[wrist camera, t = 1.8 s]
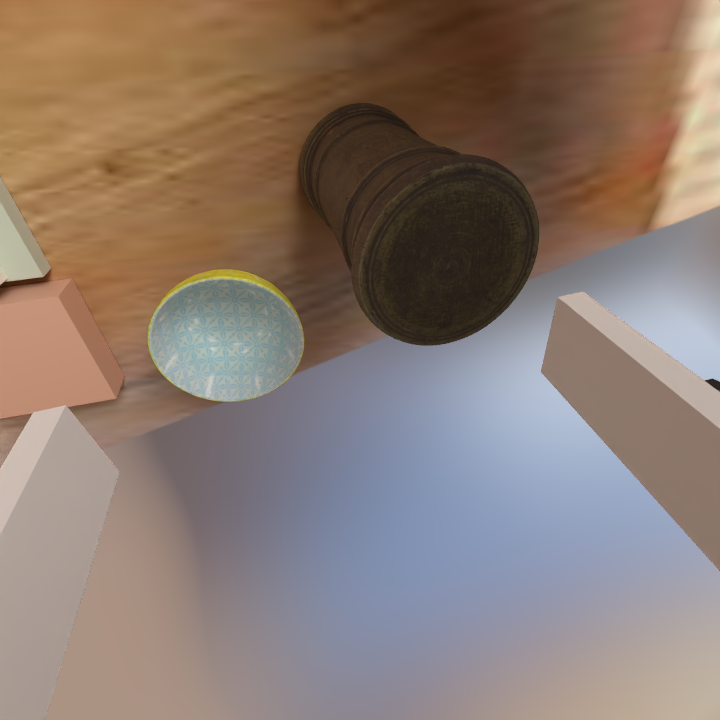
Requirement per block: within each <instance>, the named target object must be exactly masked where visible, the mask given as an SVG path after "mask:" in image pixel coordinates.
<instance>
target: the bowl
mask: <svg viewBox="0 0 720 720" xmlns="http://www.w3.org/2000/svg"><path fill="white" fill-rule="evenodd" d="M147 341H148V348H149V352H150V356H151V358H152V360H153V362H154V364H155V366H156V367H157V369H158V370H159V371H160V373H161V374H162V375H163V376H164V377H165V378H166V379H167V380H168V381H169V382H170V383H172V384H173V385H174V386H176V387H177V388H179V389H181V390H183V391H185V392H187V393H189V394H191V395H194V396H196V397H200V398H203V399H208V400H213V401H220V402H236V401H245V400H249V399H253V398H257V397H260V396H263V395H265V394H267V393H269V392H271V391H273V390H275V389H276V388H278V387H280V386H281V385H282V384H283V383H285V382H286V381H287V380H288V379H289V378H290V377H291V376H292V374H293V373H294V372H295V370H296V369H297V367H298V365H299V363H300V361H301V359H302V355H303V351H304V344H305V338H304V331H303V327H302V323H301V321H300V319H299V316H298V314H297V312H296V310H295V308H294V307H293V305H292V304H291V302H290V301H289V299H288V298H287V297H286V296H285V295H284V294H283V293H282V292H281V291H280V290H279V289H278V288H277V287H275V286H274V285H273V284H272V283H270V282H268V281H267V280H265V279H263V278H261V277H259V276H257V275H254V274H251V273H248V272H244V271H240V270H231V269H219V270H211V271H206V272H203V273H200V274H196V275H194V276H191V277H189V278H188V279H186V280H184V281H183V282H181V283H179V284H178V285H176V286H175V287H174V288H173V289H171V290H170V291H169V292H168V293H167V294H166V295H165V296H164V298H163V299H162V300H161V301H160V303H159V304H158V306H157V308H156V309H155V311H154V313H153V315H152V317H151V320H150V322H149V326H148V334H147Z"/></svg>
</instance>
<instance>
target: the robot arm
mask: <svg viewBox="0 0 720 720" xmlns="http://www.w3.org/2000/svg"><path fill="white" fill-rule="evenodd" d="M541 372H542V373H543V375H544V376H545V377H546V378H547V379H548V380H549V381H550V382H551V383H552V385H553V386H554V387H555V388H556V389H557V390H558V391H559V392H560V393H561V395H562V396H563V397H564V398H565V399H566V400H567V401H568V402H569V404H570V405H571V406H572V407H573V408H574V409H575V410H576V411H577V412H578V413H579V415H580V416H581V417H582V418H583V419H584V420H585V421H586V422H587V424H589V426H590V427H591V428H592V429H593V430H594V431H595V432H596V434H597V435H598V436H599V437H600V438H601V439H602V440H603V441H604V443H605V444H606V445H607V446H608V447H609V448H610V449H611V450H612V451H613V453H614V454H615V455H616V456H617V457H618V458H619V459H620V460H621V461H622V463H623V464H624V465H625V466H626V467H627V468H628V469H629V470H630V471H631V473H632V474H633V475H634V476H635V477H636V478H637V479H638V480H639V481H640V483H641V484H642V485H643V486H644V487H645V488H646V489H647V490H648V491H649V493H650V494H651V495H652V496H653V497H654V498H655V499H656V500H657V501H658V503H659V504H660V505H661V506H662V507H663V508H664V509H665V510H666V511H667V513H668V514H669V515H670V516H671V517H672V518H673V519H674V520H675V522H676V523H677V524H678V525H679V526H680V527H681V528H682V529H683V530H684V532H685V533H686V534H687V535H688V536H689V537H690V538H691V539H692V540H693V542H694V543H695V544H696V545H697V546H698V547H699V548H700V549H701V551H702V552H703V553H704V554H705V555H706V556H707V557H708V558H709V559H710V561H711V562H712V563H713V564H714V565H715V566H716V567H717V568H718V569H719V571H720V382H719V381H716V380H714V379H709V380H705V381H704V380H703V379H701V378H700V377H699V376H697V375H696V374H695V373H693V372H692V371H690V370H689V369H688V368H686V367H685V366H684V365H682V364H681V363H680V362H678V361H677V360H675V359H674V358H673V357H671V356H670V355H669V354H667V353H666V352H665V351H663V350H662V349H661V348H659V347H658V346H656V345H655V344H654V343H652V342H651V341H649V340H648V339H647V338H646V337H644V336H643V335H641V334H640V333H639V332H637V331H636V330H635V329H633V328H632V327H631V326H629V325H628V324H626V323H625V322H624V321H622V320H621V319H620V318H618V317H617V316H616V315H614V314H613V313H611V312H610V311H609V310H607V309H606V308H605V307H603V306H602V305H601V304H599V303H598V302H596V301H595V300H593V299H592V298H591V297H590V296H588V295H587V294H586V293H584V292H579V293H574V294H570V295H565V296H561V297H558V298H557V302H556V307H555V311H554V316H553V320H552V325H551V330H550V334H549V338H548V343H547V348H546V351H545V356H544V361H543V365H542V369H541ZM119 473H120V472H119V471H118V469H117V468H116V467H115V466H114V464H113V463H112V462H111V461H110V459H109V458H108V457H107V456H106V454H105V453H104V452H103V451H102V449H101V448H100V447H99V446H98V444H97V443H96V442H95V441H94V439H93V438H92V437H91V436H90V434H89V433H88V432H87V431H86V429H85V428H84V427H83V426H82V424H81V423H80V422H79V421H78V419H77V418H76V417H75V416H74V414H73V413H72V412H71V411H70V409H69V408H68V407H67V406H66V405H64V406H60V407H55V408H51V409H46V410H41V411H37V412H33V414H32V416H31V417H30V419H29V421H28V422H27V424H26V426H25V427H24V429H23V431H22V433H21V434H20V436H19V438H18V439H17V441H16V443H15V445H14V446H13V448H12V450H11V451H10V453H9V455H8V457H7V458H6V460H5V462H4V463H3V465H2V467H1V468H0V720H45V718H46V715H47V712H48V709H49V705H50V702H51V698H52V695H53V692H54V689H55V685H56V682H57V679H58V675H59V672H60V669H61V665H62V662H63V659H64V655H65V652H66V649H67V646H68V642H69V639H70V635H71V632H72V629H73V626H74V622H75V619H76V615H77V612H78V609H79V606H80V602H81V599H82V596H83V592H84V589H85V586H86V582H87V579H88V576H89V573H90V569H91V565H92V563H93V559H94V556H95V553H96V549H97V546H98V543H99V539H100V536H101V533H102V529H103V526H104V523H105V519H106V516H107V513H108V509H109V506H110V503H111V499H112V496H113V493H114V489H115V486H116V483H117V480H118V476H119Z"/></svg>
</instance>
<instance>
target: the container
mask: <svg viewBox="0 0 720 720" xmlns="http://www.w3.org/2000/svg"><path fill="white" fill-rule="evenodd" d="M300 176H301V182H302V185H303V189H304V192H305V194H306V197H307V199H308V201H309V202H310V204H311V205H312V207H313V208H314V209H315V211H316V212H317V213H318V214H319V216H320V217H321V218H322V219H323V220H324V221H325V222H326V223H327V224H328V226H329V227H330V228H331V229H332V230H333V232H334V234H335V235H336V238H337V240H338V242H339V245H340V247H341V249H342V251H343V254H344V257H345V260H346V263H347V265H348V267H349V269H350V271H351V273H352V283H353V288H354V292H355V295H356V298H357V300H358V303H359V305H360V307H361V308H362V310H363V312H364V313H365V315H366V316H367V317H368V318H369V320H370V321H371V322H372V323H373V324H374V325H375V326H376V327H377V328H379V329H380V330H381V331H382V332H384V333H385V334H387V335H389V336H391V337H393V338H394V339H397V340H400V341H403V342H406V343H410V344H415V345H440V344H446V343H450V342H454V341H457V340H460V339H463V338H465V337H468V336H470V335H472V334H474V333H475V332H478V331H479V330H481V329H482V328H484V327H486V326H487V325H488V324H490V323H491V322H492V321H494V320H495V319H496V318H497V317H498V316H499V315H501V314H502V312H504V310H506V309H507V308H508V307H509V305H510V304H511V303H512V302H513V301H514V299H515V298H516V297H517V295H518V294H519V293H520V291H521V290H522V288H523V286H524V285H525V283H526V281H527V279H528V277H529V275H530V273H531V270H532V268H533V265H534V262H535V258H536V255H537V250H538V243H539V223H538V217H537V212H536V209H535V206H534V203H533V201H532V199H531V197H530V195H529V193H528V191H527V190H526V188H525V186H524V185H523V184H522V183H521V181H520V180H519V179H518V178H517V177H516V176H515V175H514V174H513V173H512V172H510V171H509V170H508V169H507V168H505V167H504V166H502V165H500V164H499V163H497V162H495V161H493V160H490V159H487V158H484V157H480V156H474V155H462V154H460V153H458V152H456V151H454V150H451V149H448V148H445V147H439V146H437V145H434V144H432V143H430V142H428V141H426V140H424V139H422V138H420V137H419V135H418V134H416V133H415V132H414V131H413V130H412V129H411V128H410V127H409V126H408V125H407V124H406V123H405V122H404V121H403V120H402V119H400V118H399V117H398V116H396V115H395V114H394V113H392V112H391V111H389V110H387V109H385V108H383V107H380V106H377V105H373V104H365V103H362V104H351V105H347V106H344V107H341V108H339V109H337V110H335V111H333V112H331V113H330V114H328V115H327V116H326V117H324V118H323V119H322V120H321V121H320V122H319V123H318V124H317V125H316V126H315V128H314V129H313V130H312V132H311V133H310V134H309V136H308V138H307V140H306V142H305V144H304V147H303V150H302V154H301V159H300Z"/></svg>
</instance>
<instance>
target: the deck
mask: <svg viewBox="0 0 720 720" xmlns="http://www.w3.org/2000/svg"><path fill="white" fill-rule="evenodd" d="M50 269H51V267H50V265H49V263H48V261H47V259H46V258H45V256H44V254H43V252H42V251H41V249H40V247H39V245H38V243H37V242H36V240H35V238H34V236H33V234H32V233H31V231H30V229H29V227H28V225H27V224H26V222H25V220H24V218H23V216H22V215H21V213H20V211H19V209H18V207H17V206H16V204H15V202H14V200H13V199H12V197H11V195H10V193H9V191H8V190H7V188H6V186H5V184H4V182H3V181H2V179H1V177H0V285H1V284H2V283H3V282H8V281H15V280H23V279H31V278H38V277H44V276H45V275H46V274H47V272H48V271H49V270H50Z"/></svg>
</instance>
